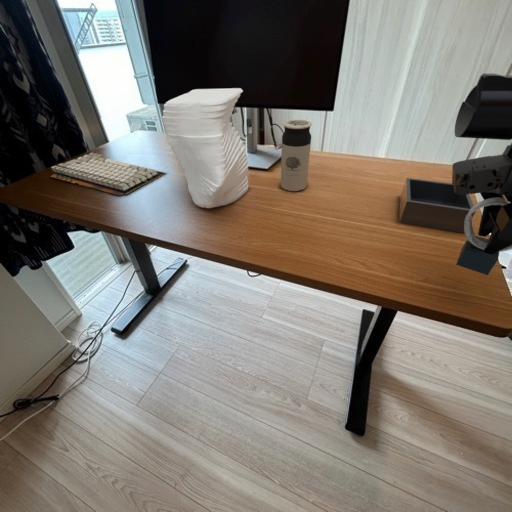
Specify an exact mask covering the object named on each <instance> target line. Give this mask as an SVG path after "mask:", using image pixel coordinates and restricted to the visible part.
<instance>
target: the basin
mask: <svg viewBox="0 0 512 512" xmlns="http://www.w3.org/2000/svg"><path fill="white" fill-rule="evenodd" d="M474 205H475V204H474V203H473V200H472V197H471V194H467V195H457V194H455V192H454V188H453V186H452V182H444V181H435V180H428V179H418V178H412V177H406V178H405V181H404V185H403V187H402V190H401V193H400V196H399V223H402V224H408V225H412V226H413V225H414V226H420V227H425V228H431V229H436V230H443V231H449V232H455V233H460V234H465V231H464V221H465V217H466V215H468V213H469V211H470V209H471V208H472V207H473V206H474ZM476 212H477V210H476V211H475V212H473V215H472V218H473V217H474V215H475V214H476Z"/></svg>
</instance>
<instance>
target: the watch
mask: <svg viewBox="0 0 512 512" xmlns="http://www.w3.org/2000/svg"><path fill="white" fill-rule="evenodd" d="M497 201H498V202H497ZM491 204H492V205H499V204H500V205H503V206H504V205H506V204H507V203H506V201H505V199H504V197H495V198H489V199H486V200H484V199H483V200H481V201H478V202H477V203H475V204H473V205H474V206H473V207H472V208H471V209H470V211H469V213H468V215H466V217H465V221H464V235H465V239H466V240H465V242H464V244H463V245H462V247H461V250H460V252H459V255H458V258H457V260H456V264H455V265H456V266H459V267H462V268H464V269H468V270H472V271H474V272H477V273H480V274H483V275H486V276H488V275H490V273H491V271H492V269H493V267H495V265H496V264H497V262H498V261H499V257H500V252H507V251H510V250H512V245H511V246H509V247H507V248H505V249H503V250H501V251H499V252H497V253H494V254H487V253H485V252H484V250H485V247H486V244H487V242H488V240H489V238H486V237H483V236H479V235H476V234H475V230H474V226H473V217H472V215H473V212H475V211H476V212H477V210H479V209H482V208H484V207H485V206H490V205H491ZM476 212H475V213H476Z"/></svg>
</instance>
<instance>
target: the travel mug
mask: <svg viewBox="0 0 512 512" xmlns="http://www.w3.org/2000/svg"><path fill="white" fill-rule="evenodd" d="M282 125H283V127H284V132H283V133H282V136H281V157H280V160H281V163H280V187H281V188H282V189H283V190H286V191H289V192H298V191H302V190H304V189H306V188H307V186H308V175H309V167H310V166H309V165H310V156H311V147H312V146H311V144H312V134H311V131H310V129H311V127H312V126H313V125H312V122H311V121H309V120H305V119H290V120H286V121H284V122H283V124H282Z"/></svg>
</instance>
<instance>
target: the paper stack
mask: <svg viewBox="0 0 512 512" xmlns="http://www.w3.org/2000/svg"><path fill="white" fill-rule="evenodd" d="M243 92H244V90H243V89H242V88H241V87H232V88H231V87H230V88H195V89H192V90H190V91H188V92H186V93H183V94H181V95H178V96H176V97H174V98H171V99H169V100H168V101H166V102H165V103H164V104H163V110H162V116H161V119H162V123H163V128H164V130H165V134H166V139H167V141H168V145H169V146H170V150H171V151H172V152H173V155H175V159H177V162H178V164H180V167H181V168H183V172H184V176H185V179H186V181H187V182H186V183H187V188H188V191H189V194H190V196H191V199H192V202H193V203H194V204H195V205H196V206H197V207H199V208H203V209H213V208H218V207H221V206H222V207H223V206H227V205H230V204H233V203H234V202H235V201H237V200H239V199H240V198H241V197H242V196H243V195H244V194H245V193H247V192H248V190H249V186H250V185H249V179H248V174H249V173H248V172H249V164H248V156H247V150H246V146H245V145H243V140H242V139H241V135H240V134H239V130H236V126H233V122H231V121H230V120H231V117H232V115H233V111H234V107H235V106H236V104H237V102H238V99H239V98H240V97H241V94H242V93H243Z"/></svg>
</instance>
